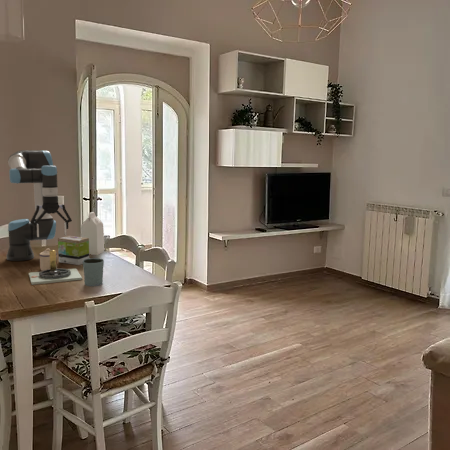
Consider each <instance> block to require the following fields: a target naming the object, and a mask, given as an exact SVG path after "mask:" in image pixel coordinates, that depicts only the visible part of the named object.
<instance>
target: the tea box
mask: <svg viewBox="0 0 450 450" xmlns="http://www.w3.org/2000/svg"><path fill="white" fill-rule="evenodd" d="M57 247H58V248H57V249H58V250H57V253H58V254H57V255H58V262H59V263H63V264H68V265H75V266H81V265H83V260H85V259H90V255H89V238H84V237H81V236H74V235H66V236H63V237H58V238H57Z"/></svg>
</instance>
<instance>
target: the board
mask: <svg viewBox="0 0 450 450" xmlns="http://www.w3.org/2000/svg"><path fill="white" fill-rule="evenodd" d="M67 269H68V270H70V271H71V274H70V275H69V276H66V277H62V278H42V277H40V276H39V272H40V271H34V272H33V271H32V272H31V271H30V272H28V277H29V280H30V283H31V285H41V284H42V285H44V284H52V283H63V282H74V281H81V280H83V277H82V275H81V274H80V272H79V270H78V269H77V268H67ZM47 273H48V272H47ZM60 275H62V274H60Z"/></svg>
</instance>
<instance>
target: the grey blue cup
mask: <svg viewBox="0 0 450 450" xmlns="http://www.w3.org/2000/svg"><path fill="white" fill-rule="evenodd" d="M104 263H105V261H104V259H103V258H97V257H93V258H92V257H91V258H90V257H89V259H85V260H83V264H82V268H83V277H84V285H85V286H87V287H98V286H102V284H103V283H104V282H103V281H104V280H103V279H104V265H105V264H104Z"/></svg>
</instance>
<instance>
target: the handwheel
mask: <svg viewBox="0 0 450 450" xmlns="http://www.w3.org/2000/svg"><path fill="white" fill-rule="evenodd" d="M49 253H50V269H48V270H43V271H42V270H40V271H38V272H39V276H40V277H42V278H62V277H66V276H69V275H70V274H71V271H70V270H68V269H69V268H58V266H57V267H56V256H57V255H56V253H57V250H55V249H50V251H49ZM47 272H48V273H47ZM60 274H62V275H60Z"/></svg>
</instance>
